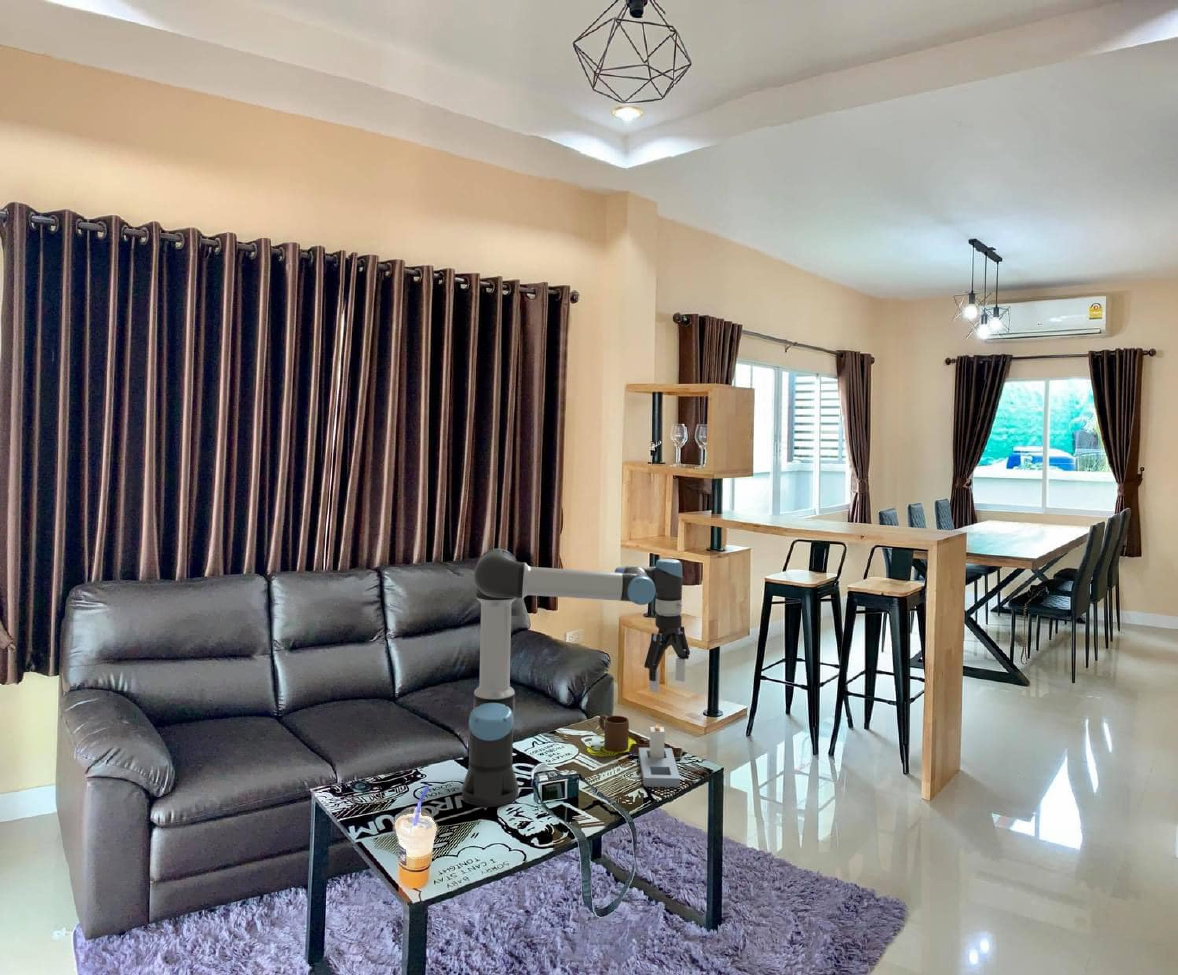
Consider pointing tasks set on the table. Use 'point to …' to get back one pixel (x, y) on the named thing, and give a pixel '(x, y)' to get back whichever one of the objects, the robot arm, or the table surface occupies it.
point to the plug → (657, 742)
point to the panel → (659, 769)
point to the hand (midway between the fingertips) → (667, 686)
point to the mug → (615, 732)
